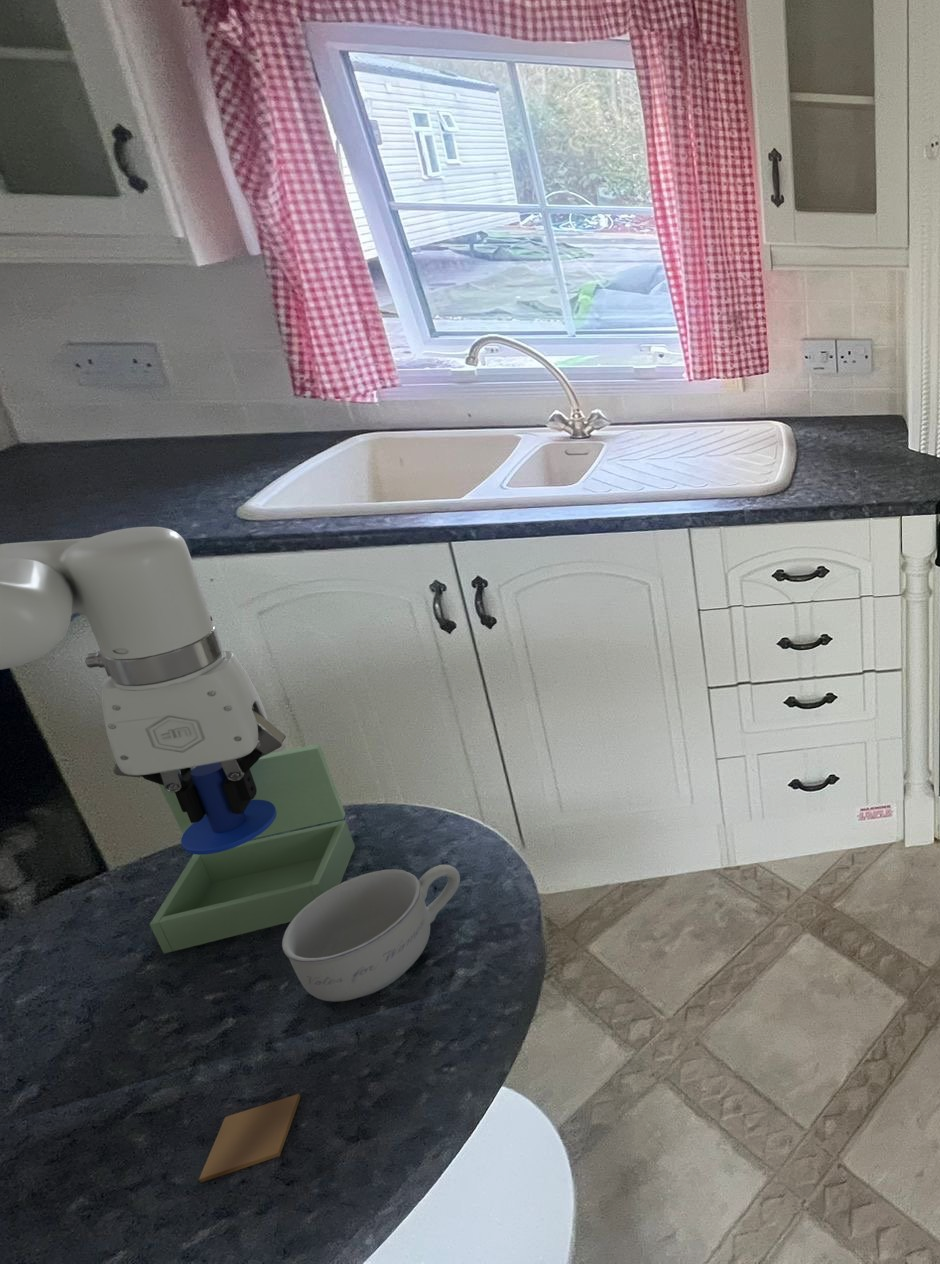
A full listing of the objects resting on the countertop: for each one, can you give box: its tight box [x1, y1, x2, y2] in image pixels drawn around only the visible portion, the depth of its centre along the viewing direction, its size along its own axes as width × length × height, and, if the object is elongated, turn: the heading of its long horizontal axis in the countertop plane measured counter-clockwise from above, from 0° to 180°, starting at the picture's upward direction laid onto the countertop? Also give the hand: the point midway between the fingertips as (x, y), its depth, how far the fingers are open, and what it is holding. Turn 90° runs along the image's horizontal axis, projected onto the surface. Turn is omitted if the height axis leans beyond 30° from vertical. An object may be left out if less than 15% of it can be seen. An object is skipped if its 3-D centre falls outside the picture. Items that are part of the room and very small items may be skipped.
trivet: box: [198, 1093, 301, 1183], centre depth 68 cm, size 5×5×1 cm
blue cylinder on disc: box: [180, 762, 277, 855], centre depth 84 cm, size 7×7×8 cm
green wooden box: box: [149, 819, 356, 954], centre depth 88 cm, size 10×13×5 cm
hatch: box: [158, 743, 346, 840], centre depth 89 cm, size 10×13×1 cm
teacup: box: [281, 864, 461, 1002], centre depth 82 cm, size 14×11×8 cm
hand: (223, 807), depth 84 cm, fingers closed on blue cylinder on disc, 2 cm apart
